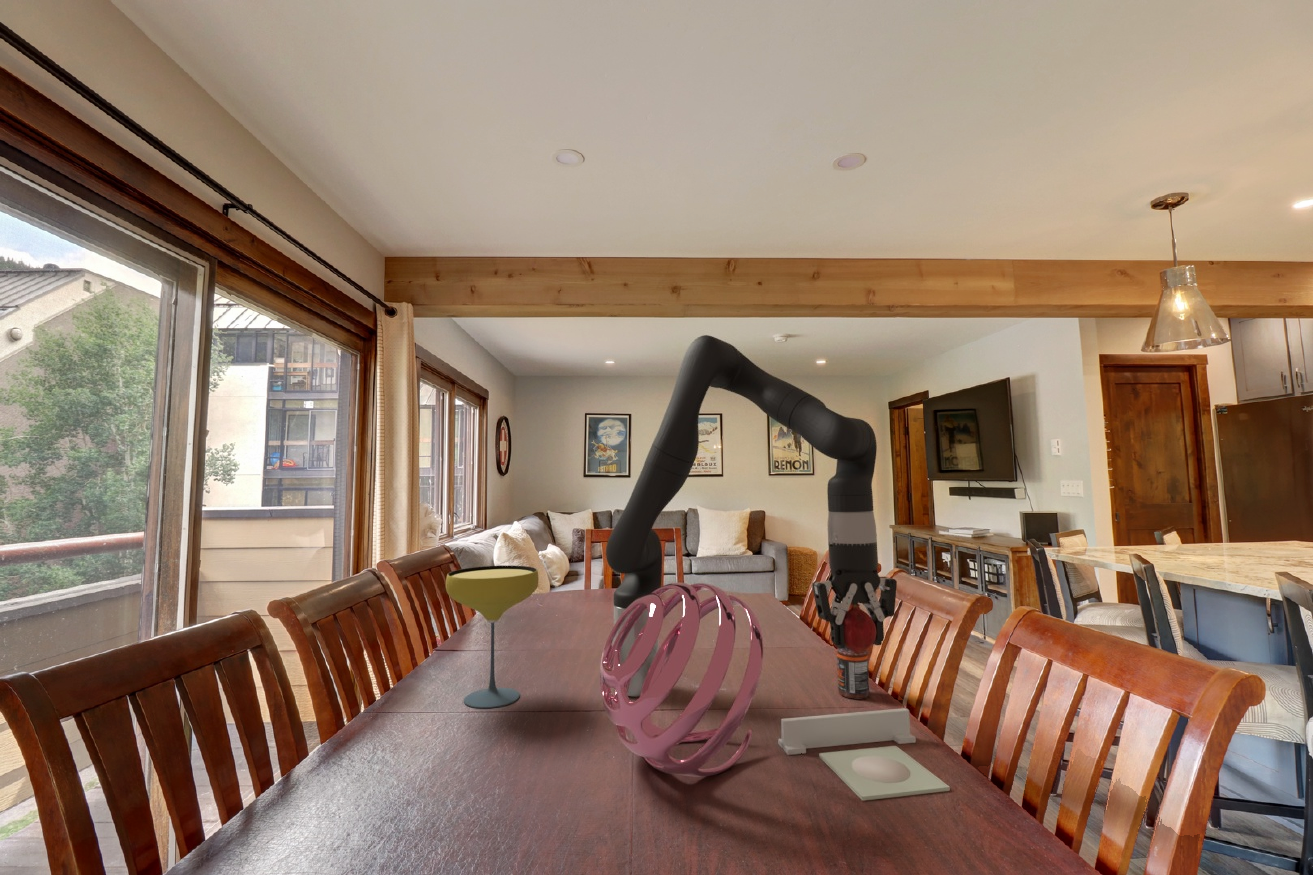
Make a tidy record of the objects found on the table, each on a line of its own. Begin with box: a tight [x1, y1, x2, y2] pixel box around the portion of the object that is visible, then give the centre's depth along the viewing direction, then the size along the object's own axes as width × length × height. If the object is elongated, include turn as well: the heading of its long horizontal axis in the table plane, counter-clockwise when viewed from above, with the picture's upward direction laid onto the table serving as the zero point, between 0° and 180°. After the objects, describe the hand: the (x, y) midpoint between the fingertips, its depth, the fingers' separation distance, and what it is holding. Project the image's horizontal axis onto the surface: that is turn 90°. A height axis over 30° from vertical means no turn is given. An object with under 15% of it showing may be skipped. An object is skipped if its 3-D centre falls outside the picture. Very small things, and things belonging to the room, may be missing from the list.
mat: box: [818, 745, 951, 802], centre depth 87 cm, size 13×13×1 cm
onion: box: [842, 603, 876, 654], centre depth 95 cm, size 6×6×8 cm
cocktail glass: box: [445, 565, 539, 710], centre depth 119 cm, size 18×18×25 cm
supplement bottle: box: [836, 645, 870, 700], centre depth 119 cm, size 6×6×11 cm
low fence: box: [777, 707, 917, 756], centre depth 97 cm, size 22×4×4 cm, turn 100°
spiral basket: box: [599, 582, 765, 778], centre depth 93 cm, size 28×28×27 cm
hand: (857, 645), depth 95 cm, fingers closed on onion, 5 cm apart
